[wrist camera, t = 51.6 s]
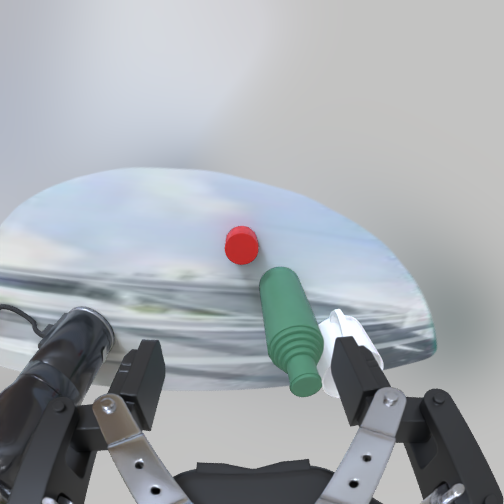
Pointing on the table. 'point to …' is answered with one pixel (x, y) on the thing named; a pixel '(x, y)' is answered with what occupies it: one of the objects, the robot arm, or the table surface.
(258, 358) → the table surface
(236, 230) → the cap
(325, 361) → the mug
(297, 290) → the bottle
